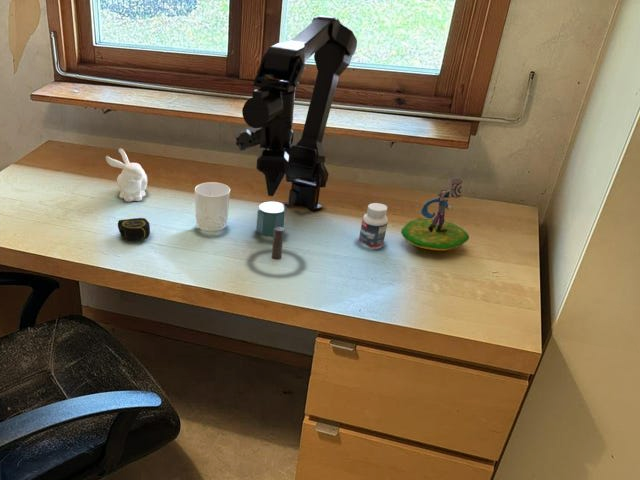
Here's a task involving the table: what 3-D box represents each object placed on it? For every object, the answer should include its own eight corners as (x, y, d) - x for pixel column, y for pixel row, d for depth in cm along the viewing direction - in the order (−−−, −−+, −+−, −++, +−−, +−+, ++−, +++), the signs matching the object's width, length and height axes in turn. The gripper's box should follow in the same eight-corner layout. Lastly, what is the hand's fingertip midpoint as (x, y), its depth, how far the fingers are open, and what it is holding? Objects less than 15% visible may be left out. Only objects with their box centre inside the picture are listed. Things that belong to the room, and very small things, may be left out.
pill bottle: (353, 243, 151) (359, 205, 146) (368, 236, 154) (375, 199, 148) (372, 252, 148) (379, 214, 143) (388, 245, 150) (395, 207, 145)
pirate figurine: (398, 256, 146) (412, 189, 137) (398, 229, 156) (411, 166, 147) (467, 263, 143) (486, 195, 134) (463, 236, 153) (480, 171, 144)
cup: (273, 227, 158) (275, 199, 154) (288, 238, 154) (291, 209, 150) (251, 233, 156) (253, 205, 152) (266, 244, 152) (268, 215, 147)
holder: (282, 246, 151) (285, 213, 146) (313, 268, 143) (317, 233, 138) (239, 258, 147) (241, 224, 142) (269, 281, 139) (272, 246, 134)
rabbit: (144, 205, 169) (142, 157, 162) (106, 204, 170) (103, 157, 163) (150, 185, 179) (149, 140, 172) (114, 184, 180) (111, 139, 173)
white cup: (226, 239, 154) (228, 197, 148) (191, 236, 155) (191, 195, 149) (230, 224, 160) (232, 183, 154) (197, 221, 162) (197, 180, 155)
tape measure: (147, 229, 159) (146, 214, 156) (152, 243, 153) (152, 227, 151) (118, 232, 158) (117, 217, 156) (122, 246, 152) (121, 230, 150)
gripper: (244, 98, 148) (241, 168, 157) (233, 127, 134) (229, 202, 143) (297, 101, 146) (290, 171, 155) (291, 130, 132) (283, 206, 141)
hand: (272, 187), depth 149 cm, fingers open, 9 cm apart
